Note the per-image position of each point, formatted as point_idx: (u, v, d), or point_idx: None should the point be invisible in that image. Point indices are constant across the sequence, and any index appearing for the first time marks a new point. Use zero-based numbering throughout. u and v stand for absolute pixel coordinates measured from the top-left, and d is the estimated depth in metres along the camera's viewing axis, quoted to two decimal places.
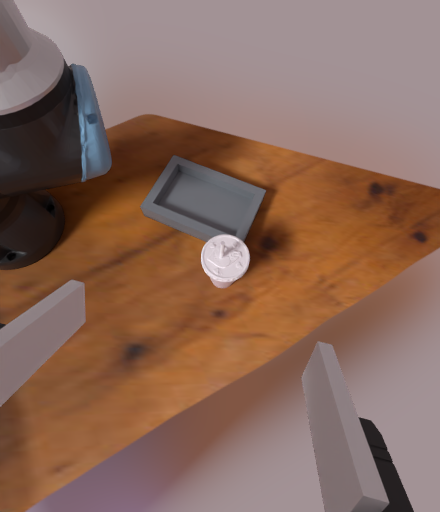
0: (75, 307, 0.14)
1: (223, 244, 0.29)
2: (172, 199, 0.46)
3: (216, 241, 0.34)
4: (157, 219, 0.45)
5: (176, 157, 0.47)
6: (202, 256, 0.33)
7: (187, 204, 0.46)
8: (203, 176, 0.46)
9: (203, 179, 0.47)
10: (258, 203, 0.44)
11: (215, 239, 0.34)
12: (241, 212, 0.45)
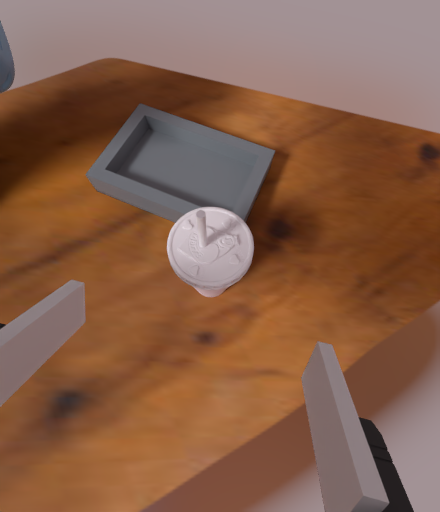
0: (75, 307, 0.14)
1: (202, 216, 0.14)
2: (137, 166, 0.31)
3: (195, 217, 0.19)
4: (114, 195, 0.30)
5: (143, 106, 0.32)
6: (169, 245, 0.18)
7: (159, 173, 0.31)
8: (183, 133, 0.32)
9: (184, 138, 0.32)
10: (264, 169, 0.29)
11: (193, 215, 0.19)
12: (239, 184, 0.31)
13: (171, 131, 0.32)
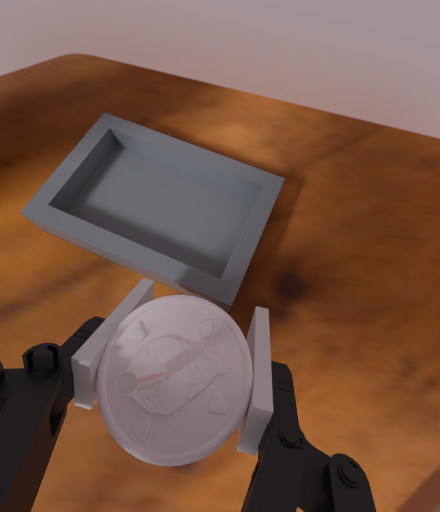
0: None
1: (129, 389, 0.06)
2: (99, 198, 0.23)
3: (152, 317, 0.11)
4: (64, 238, 0.22)
5: (109, 116, 0.24)
6: (101, 373, 0.10)
7: (128, 207, 0.23)
8: (161, 152, 0.24)
9: (162, 158, 0.24)
10: (270, 204, 0.21)
11: (148, 312, 0.11)
12: (235, 223, 0.23)
13: (145, 149, 0.24)
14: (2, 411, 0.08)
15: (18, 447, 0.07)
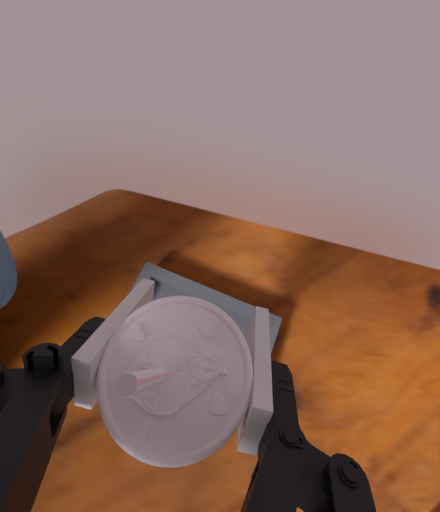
0: None
1: (129, 391, 0.06)
2: None
3: (152, 318, 0.11)
4: None
5: (150, 266, 0.32)
6: (101, 374, 0.10)
7: None
8: (189, 294, 0.32)
9: (190, 295, 0.32)
10: (272, 342, 0.29)
11: (148, 313, 0.11)
12: None
13: (177, 289, 0.32)
14: (2, 411, 0.08)
15: (18, 447, 0.07)
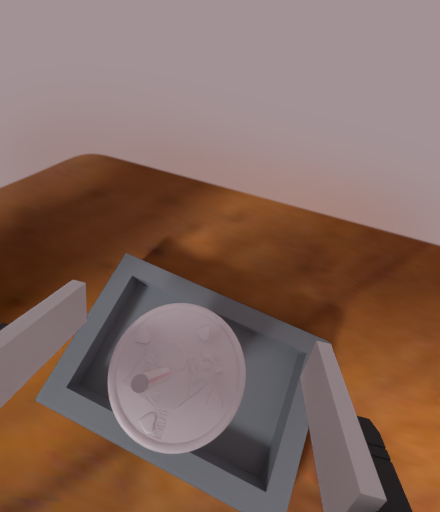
0: (77, 307, 0.14)
1: (142, 388, 0.08)
2: None
3: (156, 323, 0.13)
4: None
5: (131, 259, 0.22)
6: (111, 373, 0.12)
7: None
8: (189, 302, 0.21)
9: None
10: None
11: (152, 318, 0.13)
12: (274, 388, 0.20)
13: (172, 295, 0.22)
14: None
15: None
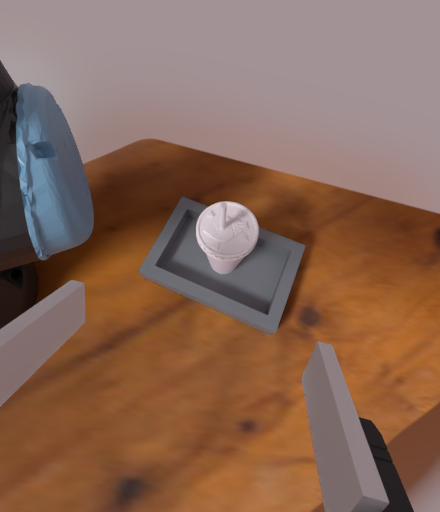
0: (75, 307, 0.14)
1: (224, 206, 0.22)
2: (180, 256, 0.35)
3: (216, 209, 0.26)
4: (161, 285, 0.33)
5: (185, 199, 0.36)
6: (197, 228, 0.26)
7: (200, 263, 0.34)
8: None
9: None
10: (296, 264, 0.33)
11: (214, 207, 0.26)
12: (272, 274, 0.34)
13: None
14: None
15: None
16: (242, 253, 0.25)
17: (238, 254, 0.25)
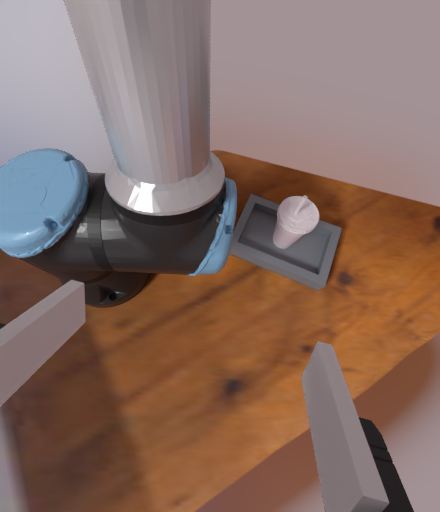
0: (75, 307, 0.14)
1: (306, 198, 0.35)
2: (251, 236, 0.48)
3: (290, 201, 0.40)
4: (239, 256, 0.47)
5: (253, 196, 0.49)
6: (279, 213, 0.39)
7: (266, 241, 0.48)
8: None
9: None
10: (336, 241, 0.46)
11: (289, 199, 0.40)
12: (317, 248, 0.48)
13: (271, 212, 0.49)
14: None
15: None
16: (310, 229, 0.38)
17: (308, 229, 0.38)
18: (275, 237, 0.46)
